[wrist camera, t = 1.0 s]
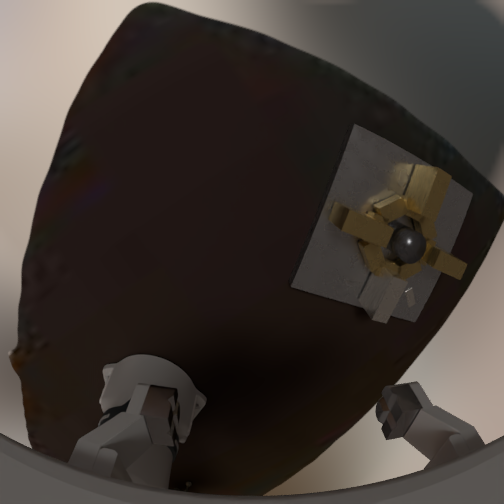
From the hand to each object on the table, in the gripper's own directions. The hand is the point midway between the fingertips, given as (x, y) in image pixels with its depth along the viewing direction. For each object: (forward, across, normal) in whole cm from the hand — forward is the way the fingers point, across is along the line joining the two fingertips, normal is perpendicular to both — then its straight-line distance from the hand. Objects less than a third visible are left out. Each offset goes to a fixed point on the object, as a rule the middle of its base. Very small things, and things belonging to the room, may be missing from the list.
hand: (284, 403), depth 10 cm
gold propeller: (+27, -18, 0) cm, 32 cm away
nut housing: (+29, -18, 0) cm, 34 cm away
